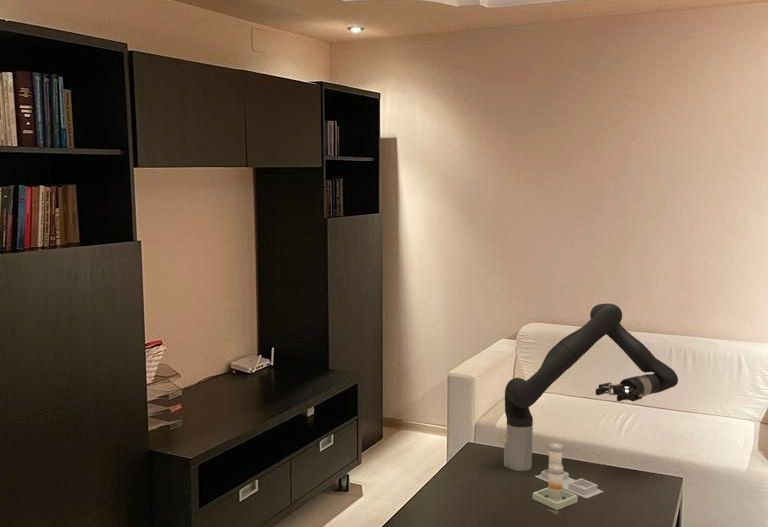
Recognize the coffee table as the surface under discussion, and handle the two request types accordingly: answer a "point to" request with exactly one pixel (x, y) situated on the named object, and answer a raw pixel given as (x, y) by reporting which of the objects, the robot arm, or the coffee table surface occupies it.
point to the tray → (555, 505)
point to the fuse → (555, 453)
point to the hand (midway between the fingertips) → (607, 395)
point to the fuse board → (574, 485)
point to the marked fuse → (555, 482)
